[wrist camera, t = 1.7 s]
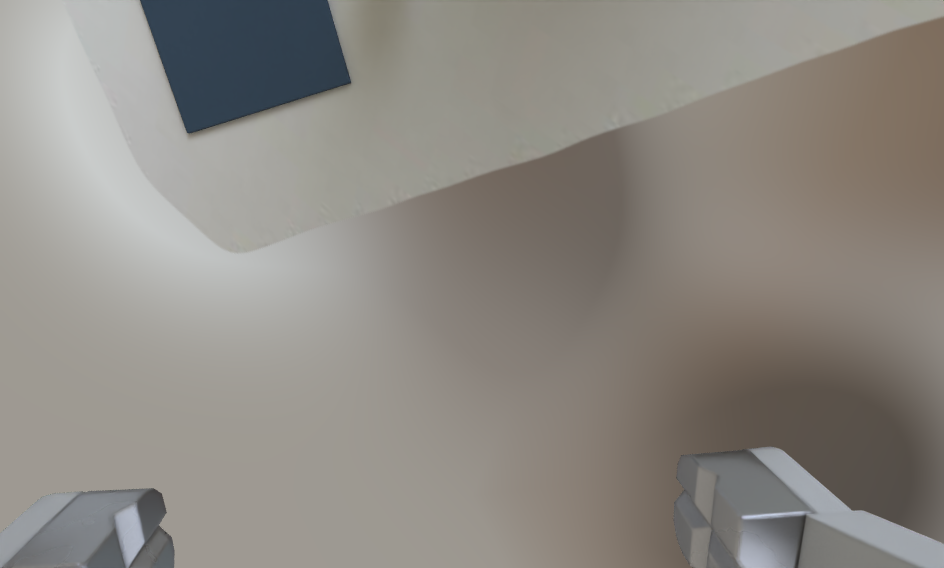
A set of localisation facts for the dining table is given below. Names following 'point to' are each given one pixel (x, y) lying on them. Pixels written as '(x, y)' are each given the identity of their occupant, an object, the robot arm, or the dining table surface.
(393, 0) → the dining table surface
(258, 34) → the mat
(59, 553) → the robot arm
